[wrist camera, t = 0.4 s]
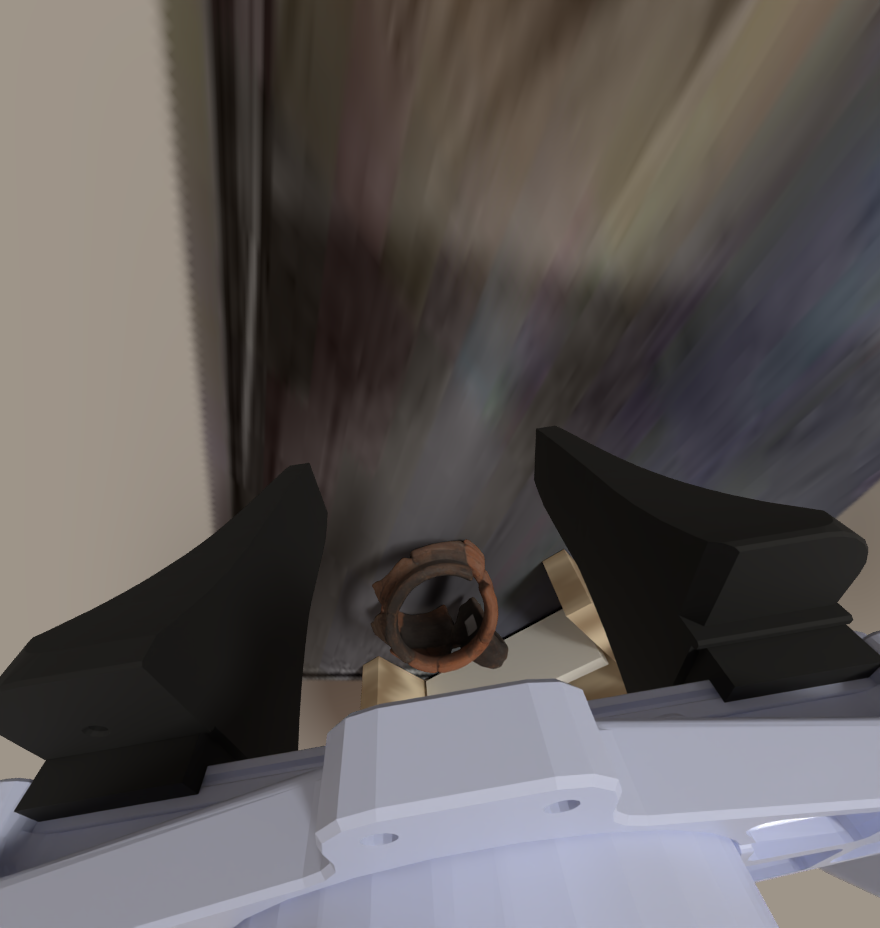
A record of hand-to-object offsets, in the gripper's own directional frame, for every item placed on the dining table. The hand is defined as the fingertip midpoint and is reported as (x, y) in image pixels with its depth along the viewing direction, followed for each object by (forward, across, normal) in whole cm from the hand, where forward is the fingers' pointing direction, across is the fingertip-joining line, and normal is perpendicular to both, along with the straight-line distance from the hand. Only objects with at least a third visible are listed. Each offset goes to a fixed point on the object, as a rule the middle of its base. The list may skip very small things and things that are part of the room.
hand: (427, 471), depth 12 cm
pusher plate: (+10, -4, +27) cm, 29 cm away
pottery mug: (+11, +1, +19) cm, 22 cm away
